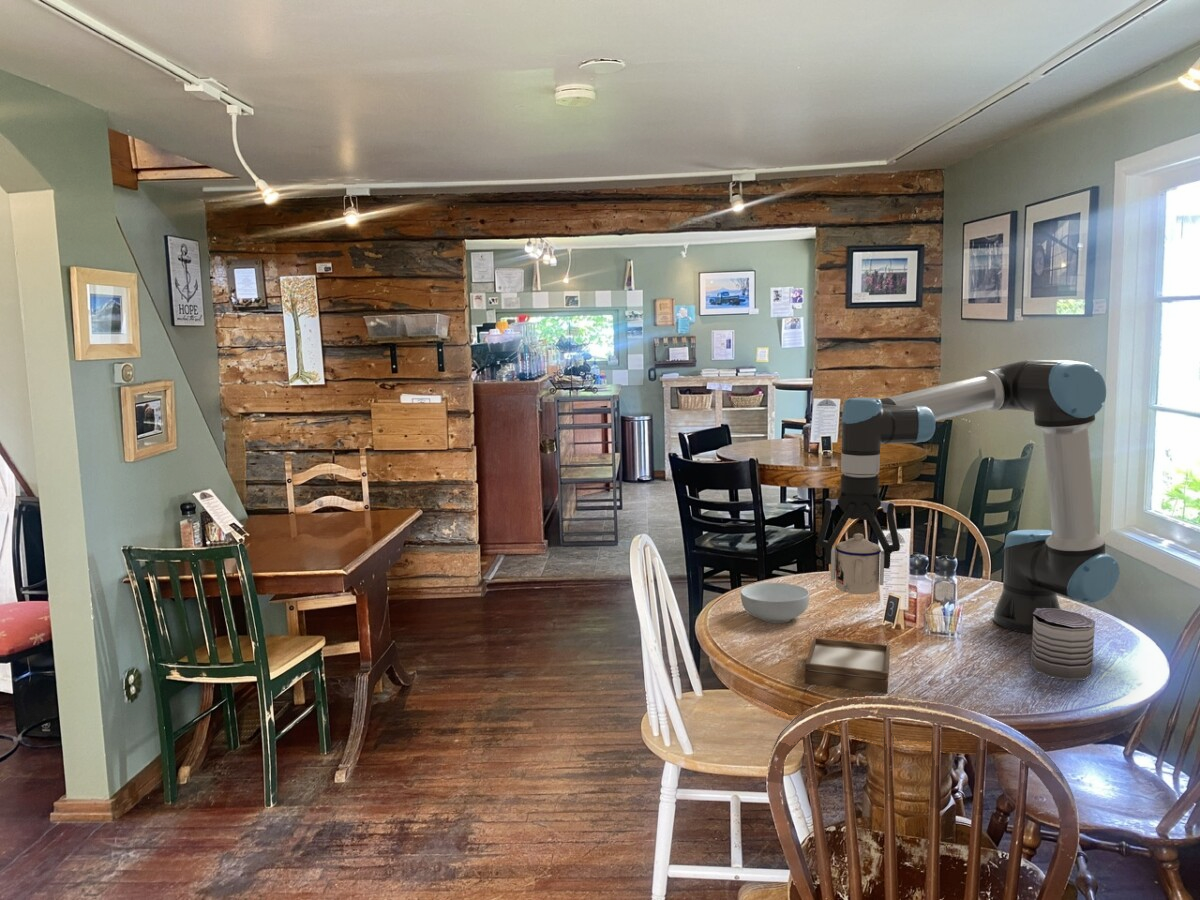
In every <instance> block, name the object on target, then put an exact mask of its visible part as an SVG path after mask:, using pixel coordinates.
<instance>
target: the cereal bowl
mask: <svg viewBox="0 0 1200 900" xmlns="http://www.w3.org/2000/svg"><path fill="white" fill-rule="evenodd" d="M740 600H741V604H742V607H743V610H745V611H746V612H747V613H748V614H749V615H750V616H752V617H755V618H756V619H757V618H758V619H759V620H761V621H763V622H766V623H770V624H771V623H772V624H783V623H787V622H790V621H791V620H792V619H795V618H798V617H799V616H801V615H803V613H805V612H806V610H807V608H808V607H809V604H810V591H809V590H808V589H807V588H805V587H803V586H800V585H796V584H793V583H792V584H791V583H787V582H785V583H784V582H773V581H772V582H760V583H759V582H758V583H754V584H750V585H746V586H745V587H744V586H743V588H741V590H740Z"/></svg>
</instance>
